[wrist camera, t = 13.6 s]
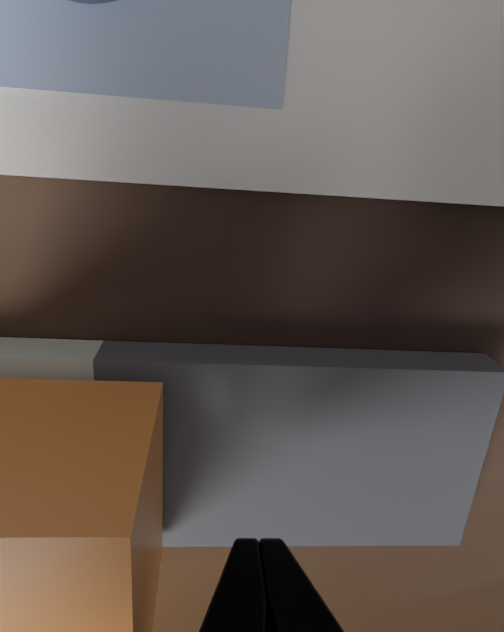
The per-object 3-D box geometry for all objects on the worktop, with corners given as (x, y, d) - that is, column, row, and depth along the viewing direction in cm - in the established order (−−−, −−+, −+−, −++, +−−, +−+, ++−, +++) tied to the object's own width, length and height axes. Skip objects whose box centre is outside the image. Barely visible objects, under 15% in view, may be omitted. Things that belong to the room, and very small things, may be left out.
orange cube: (162, 381, 10) (130, 537, 6) (162, 547, 11) (135, 753, 8) (-45, 376, 9) (-217, 538, 6) (-16, 548, 11) (-136, 765, 7)
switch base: (485, 353, 11) (572, 423, 9) (442, 516, 13) (503, 619, 10) (-135, 332, 10) (-268, 407, 7) (-93, 516, 12) (-187, 632, 9)
